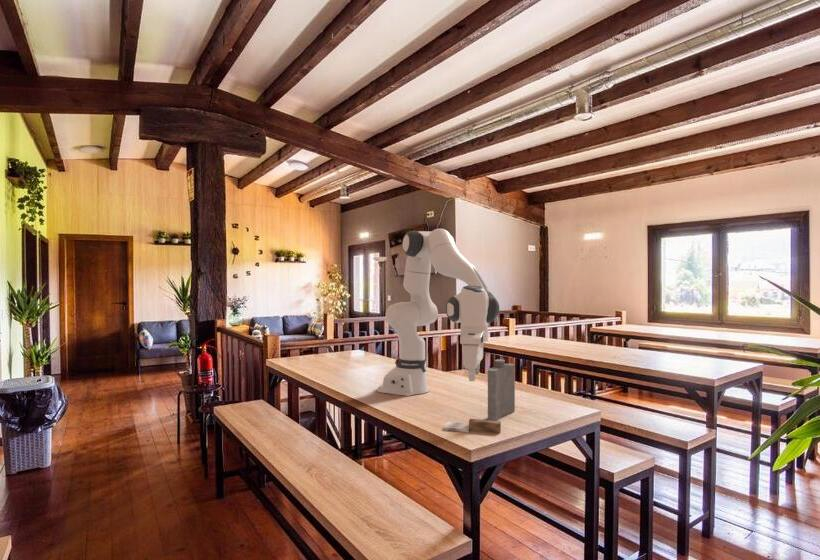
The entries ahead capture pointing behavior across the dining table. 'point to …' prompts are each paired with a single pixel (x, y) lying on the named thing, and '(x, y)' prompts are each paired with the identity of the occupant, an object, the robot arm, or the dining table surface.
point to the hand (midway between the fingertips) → (474, 377)
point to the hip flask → (501, 390)
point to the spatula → (475, 426)
